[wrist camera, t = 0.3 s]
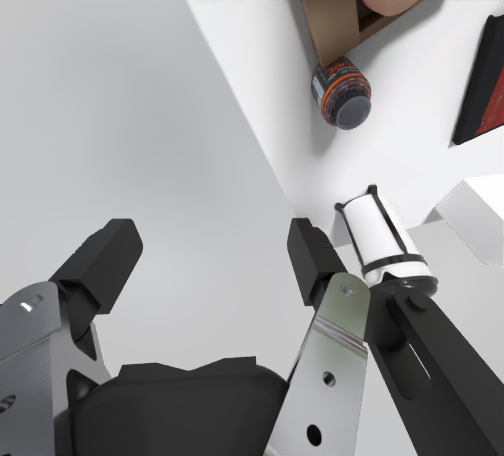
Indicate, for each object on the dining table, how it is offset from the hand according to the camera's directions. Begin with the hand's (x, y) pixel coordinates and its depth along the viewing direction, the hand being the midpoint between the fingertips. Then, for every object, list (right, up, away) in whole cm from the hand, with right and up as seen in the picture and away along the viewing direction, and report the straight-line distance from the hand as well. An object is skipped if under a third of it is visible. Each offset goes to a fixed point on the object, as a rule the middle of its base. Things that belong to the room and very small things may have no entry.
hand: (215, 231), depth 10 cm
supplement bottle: (+14, +24, +20) cm, 34 cm away
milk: (+63, +11, +43) cm, 77 cm away
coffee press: (+35, +7, +46) cm, 58 cm away
